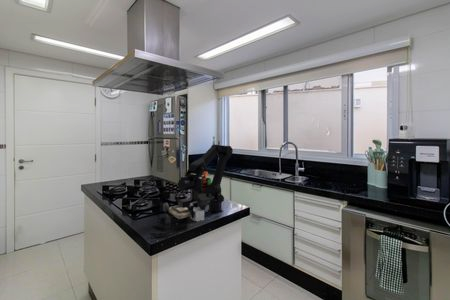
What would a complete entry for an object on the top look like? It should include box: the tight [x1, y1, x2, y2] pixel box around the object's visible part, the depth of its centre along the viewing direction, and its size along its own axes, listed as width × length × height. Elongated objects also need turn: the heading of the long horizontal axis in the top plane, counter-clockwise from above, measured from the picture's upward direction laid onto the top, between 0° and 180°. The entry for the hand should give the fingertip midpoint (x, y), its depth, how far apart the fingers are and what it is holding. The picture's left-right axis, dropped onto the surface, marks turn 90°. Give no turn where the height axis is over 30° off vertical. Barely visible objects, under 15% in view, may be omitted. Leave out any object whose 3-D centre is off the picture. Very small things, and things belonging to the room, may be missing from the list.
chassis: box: [162, 198, 196, 220], centre depth 129 cm, size 17×18×5 cm
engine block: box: [189, 206, 205, 222], centre depth 118 cm, size 5×6×5 cm
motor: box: [197, 171, 212, 206], centre depth 145 cm, size 10×9×20 cm
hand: (197, 217), depth 118 cm, fingers closed on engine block, 5 cm apart
